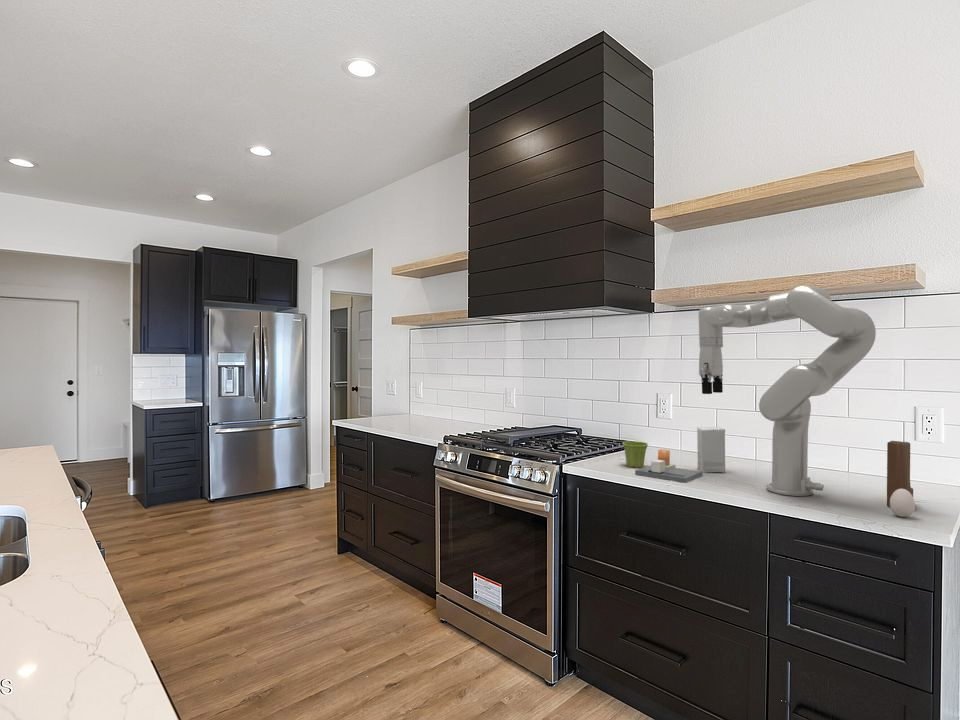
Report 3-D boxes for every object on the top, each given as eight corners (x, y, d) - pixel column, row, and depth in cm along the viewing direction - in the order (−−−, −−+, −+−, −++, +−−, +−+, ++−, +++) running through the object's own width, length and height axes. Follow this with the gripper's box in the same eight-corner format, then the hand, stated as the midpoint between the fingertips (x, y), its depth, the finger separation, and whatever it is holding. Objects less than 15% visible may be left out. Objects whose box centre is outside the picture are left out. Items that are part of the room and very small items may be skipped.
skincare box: (720, 469, 205) (720, 426, 205) (726, 473, 199) (726, 429, 199) (696, 469, 206) (696, 426, 206) (701, 472, 200) (701, 429, 199)
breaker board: (702, 475, 195) (702, 469, 194) (685, 482, 184) (685, 476, 184) (653, 468, 207) (653, 462, 207) (635, 474, 197) (635, 468, 197)
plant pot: (653, 467, 208) (653, 444, 208) (632, 469, 205) (632, 446, 205) (637, 463, 217) (637, 440, 217) (617, 464, 214) (617, 442, 213)
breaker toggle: (664, 470, 194) (665, 460, 194) (659, 472, 191) (659, 462, 191) (656, 469, 196) (656, 459, 196) (651, 471, 193) (651, 461, 193)
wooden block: (894, 500, 162) (894, 438, 162) (913, 504, 159) (914, 440, 158) (886, 506, 156) (887, 442, 156) (906, 510, 153) (907, 444, 152)
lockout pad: (675, 467, 202) (675, 464, 202) (667, 469, 197) (667, 467, 197) (659, 465, 206) (659, 462, 206) (651, 467, 202) (651, 464, 202)
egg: (891, 518, 146) (891, 489, 145) (888, 512, 150) (888, 485, 150) (916, 521, 143) (916, 492, 143) (913, 515, 148) (913, 487, 147)
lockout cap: (671, 464, 202) (671, 450, 202) (666, 466, 199) (666, 452, 199) (661, 462, 204) (661, 449, 204) (655, 464, 202) (656, 450, 202)
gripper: (709, 344, 202) (710, 391, 202) (690, 343, 190) (691, 394, 189) (731, 343, 197) (732, 392, 197) (712, 342, 185) (714, 394, 184)
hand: (712, 393), depth 193 cm, fingers open, 9 cm apart
